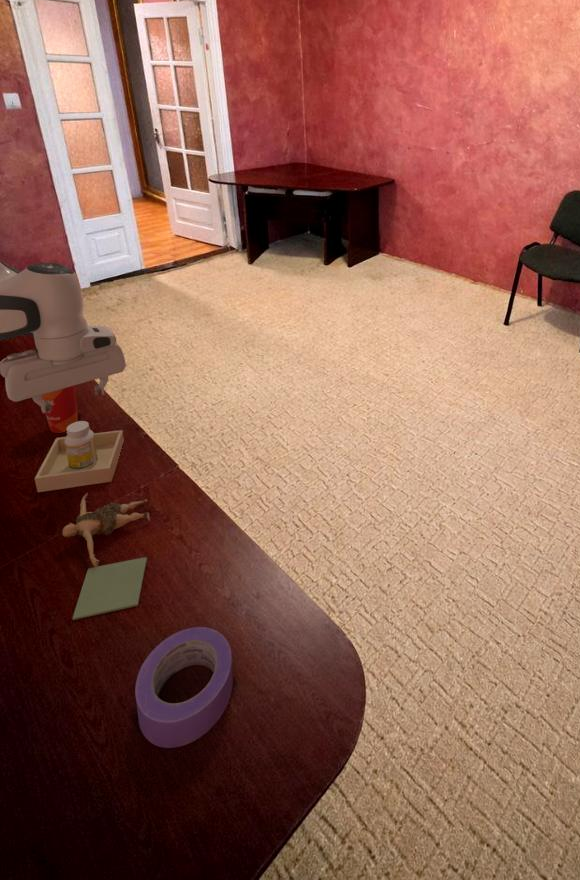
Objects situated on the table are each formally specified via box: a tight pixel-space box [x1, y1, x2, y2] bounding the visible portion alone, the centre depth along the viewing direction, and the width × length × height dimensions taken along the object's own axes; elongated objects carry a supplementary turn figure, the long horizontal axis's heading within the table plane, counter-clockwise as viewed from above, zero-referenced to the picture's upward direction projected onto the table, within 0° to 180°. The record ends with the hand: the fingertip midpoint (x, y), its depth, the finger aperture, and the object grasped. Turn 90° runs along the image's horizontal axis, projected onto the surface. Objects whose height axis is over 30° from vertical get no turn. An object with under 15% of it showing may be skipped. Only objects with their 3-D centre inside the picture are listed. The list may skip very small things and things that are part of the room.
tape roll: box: [134, 626, 234, 749], centre depth 65 cm, size 12×12×5 cm
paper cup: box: [41, 385, 79, 434], centre depth 115 cm, size 8×8×14 cm
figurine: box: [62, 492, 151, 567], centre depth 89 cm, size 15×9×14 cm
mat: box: [72, 556, 148, 621], centre depth 79 cm, size 9×9×1 cm
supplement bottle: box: [65, 420, 98, 471], centre depth 103 cm, size 5×5×10 cm
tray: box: [34, 429, 125, 493], centre depth 105 cm, size 13×13×4 cm
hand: (74, 402), depth 100 cm, fingers open, 8 cm apart
